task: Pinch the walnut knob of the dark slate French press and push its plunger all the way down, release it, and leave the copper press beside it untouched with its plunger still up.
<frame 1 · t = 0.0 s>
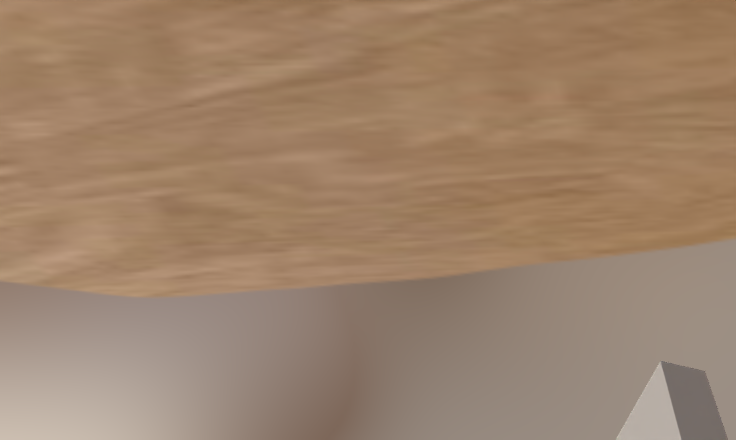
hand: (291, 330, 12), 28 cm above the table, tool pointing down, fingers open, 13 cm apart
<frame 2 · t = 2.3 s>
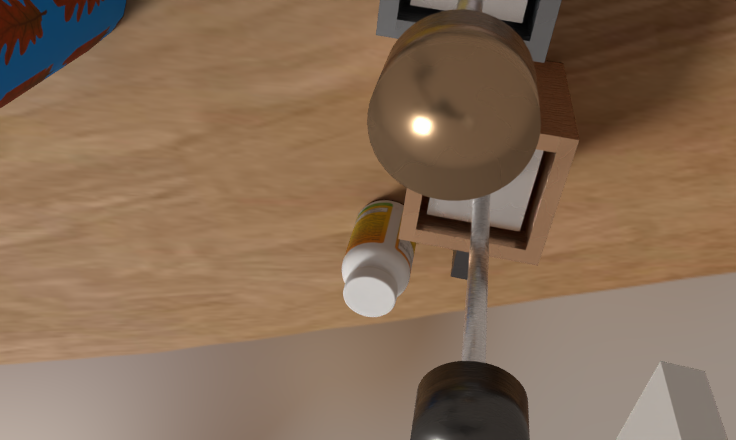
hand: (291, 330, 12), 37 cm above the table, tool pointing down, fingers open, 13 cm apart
supplement bottle: (388, 223, 57), on the table
copper plunger: (477, 281, 32), point 20 cm above the table, slide at 0.0 cm
copper carafe: (486, 110, 49), on the table
slate plunger: (469, 10, 25), point 20 cm above the table, slide at 0.0 cm
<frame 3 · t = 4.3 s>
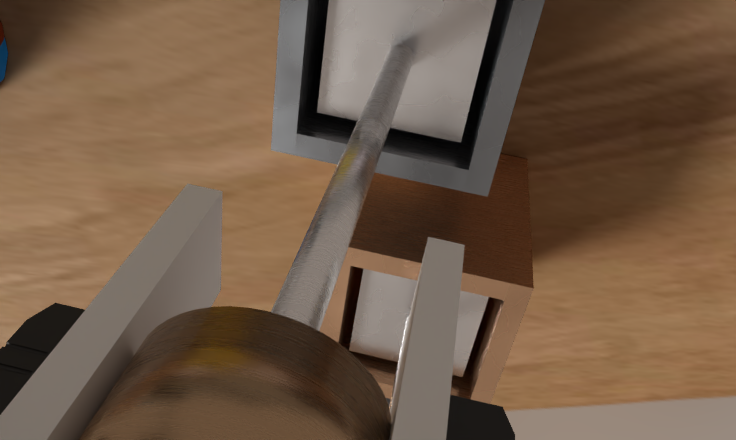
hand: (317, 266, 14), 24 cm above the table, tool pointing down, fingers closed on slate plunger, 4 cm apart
copper carafe: (436, 206, 41), on the table
slate plunger: (351, 181, 17), point 20 cm above the table, slide at 0.0 cm, touching gripper
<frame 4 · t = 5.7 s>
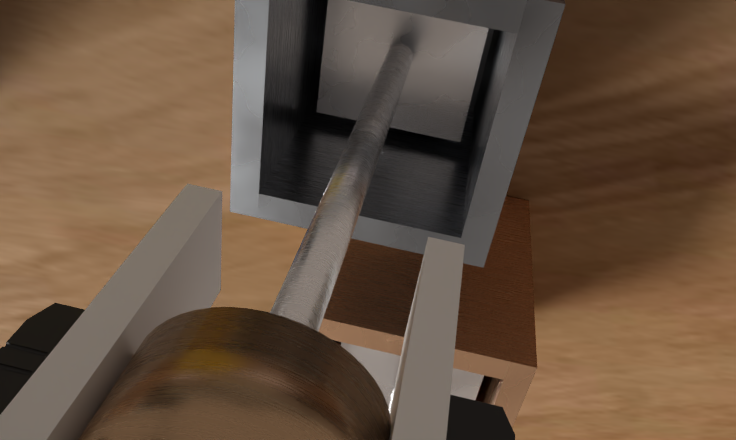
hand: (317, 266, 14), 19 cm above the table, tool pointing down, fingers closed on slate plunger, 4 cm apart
copper carafe: (427, 249, 37), on the table
slate carafe: (417, 11, 30), on the table
slate plunger: (350, 181, 17), point 16 cm above the table, slide at 4.8 cm, touching gripper
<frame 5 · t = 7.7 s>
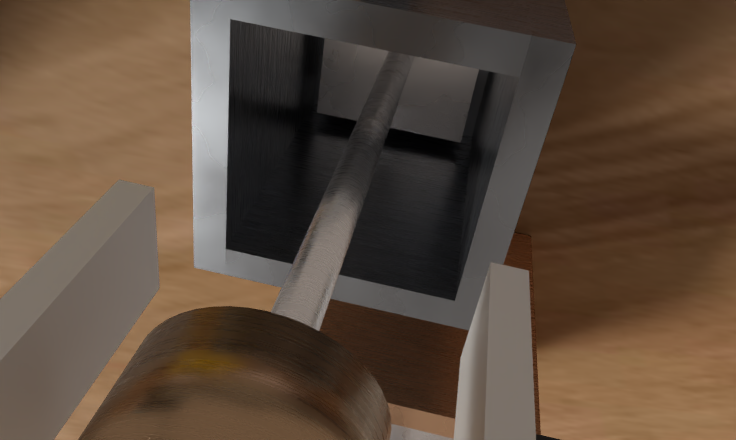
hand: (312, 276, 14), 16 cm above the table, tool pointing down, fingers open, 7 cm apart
copper carafe: (422, 285, 34), on the table
slate carafe: (409, 34, 27), on the table
slate plunger: (350, 181, 17), point 12 cm above the table, slide at 8.0 cm
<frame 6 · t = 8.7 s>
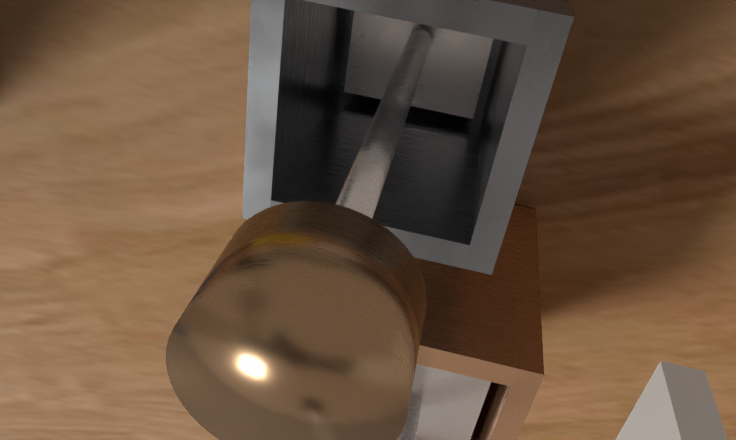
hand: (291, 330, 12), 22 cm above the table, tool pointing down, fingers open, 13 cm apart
copper carafe: (435, 257, 37), on the table
slate carafe: (427, 22, 30), on the table
slate plunger: (382, 136, 20), point 12 cm above the table, slide at 8.0 cm
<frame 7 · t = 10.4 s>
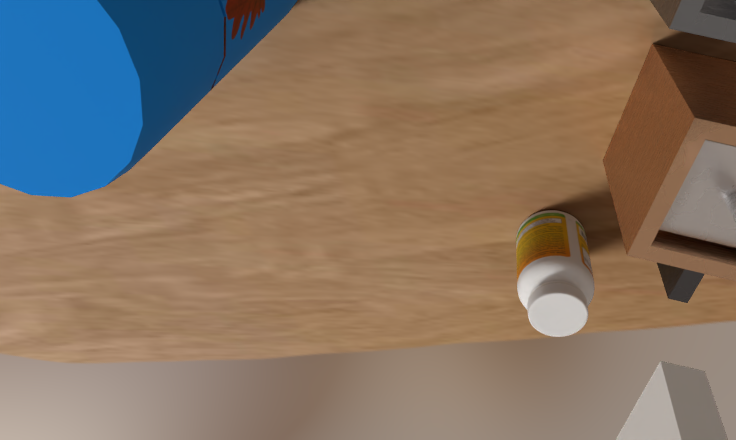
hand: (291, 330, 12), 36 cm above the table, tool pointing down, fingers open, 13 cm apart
supplement bottle: (550, 235, 53), on the table
copper carafe: (690, 119, 46), on the table
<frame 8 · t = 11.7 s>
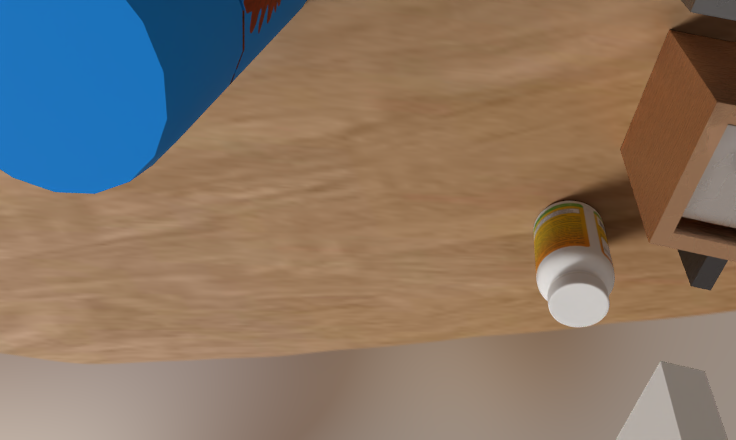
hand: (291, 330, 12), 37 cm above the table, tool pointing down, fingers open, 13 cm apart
supplement bottle: (567, 225, 53), on the table
copper carafe: (708, 106, 45), on the table
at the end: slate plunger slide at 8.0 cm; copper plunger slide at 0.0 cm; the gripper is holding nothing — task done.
